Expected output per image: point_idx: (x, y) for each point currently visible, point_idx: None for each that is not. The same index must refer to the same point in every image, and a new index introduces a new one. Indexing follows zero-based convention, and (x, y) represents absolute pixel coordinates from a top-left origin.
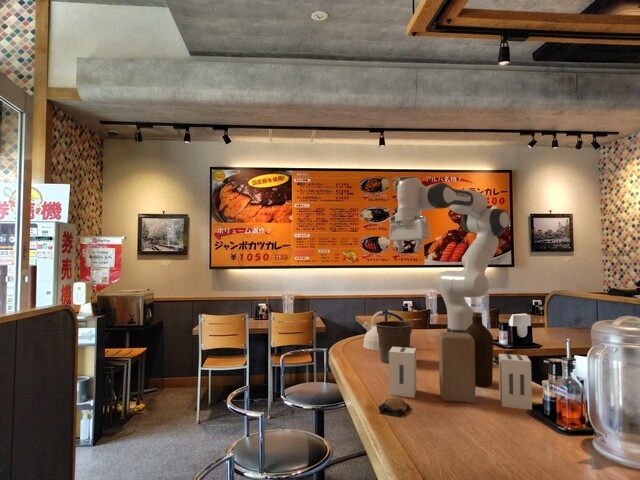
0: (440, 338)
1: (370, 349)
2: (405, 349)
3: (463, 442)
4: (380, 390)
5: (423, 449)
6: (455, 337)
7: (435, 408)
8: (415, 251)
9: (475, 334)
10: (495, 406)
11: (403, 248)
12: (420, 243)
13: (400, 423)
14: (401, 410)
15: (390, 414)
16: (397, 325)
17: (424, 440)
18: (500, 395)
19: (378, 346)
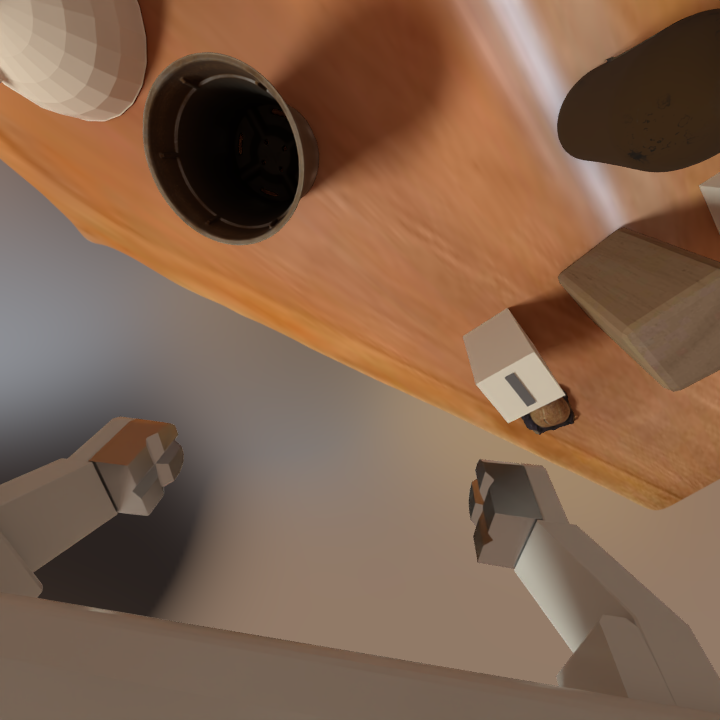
0: (653, 375)
1: (110, 118)
2: (522, 381)
3: (699, 419)
4: (459, 365)
5: (657, 464)
6: (716, 369)
7: (598, 355)
8: (476, 480)
9: (714, 153)
10: (704, 249)
11: (143, 460)
12: (641, 613)
13: (586, 435)
14: (572, 421)
15: (556, 427)
16: (175, 88)
17: (646, 448)
18: (716, 205)
19: (122, 99)
